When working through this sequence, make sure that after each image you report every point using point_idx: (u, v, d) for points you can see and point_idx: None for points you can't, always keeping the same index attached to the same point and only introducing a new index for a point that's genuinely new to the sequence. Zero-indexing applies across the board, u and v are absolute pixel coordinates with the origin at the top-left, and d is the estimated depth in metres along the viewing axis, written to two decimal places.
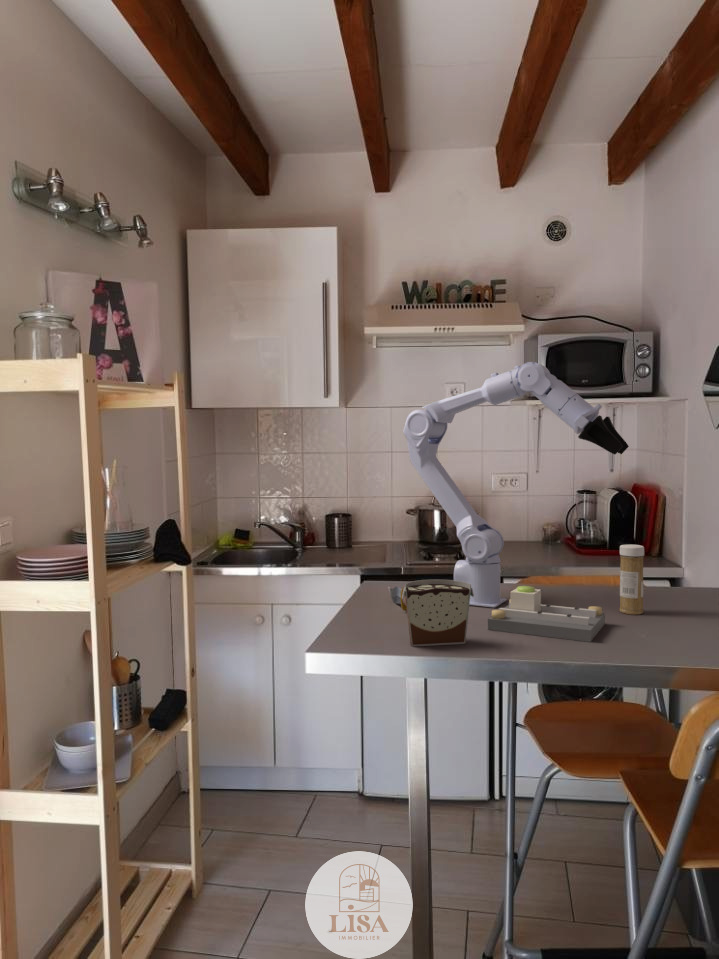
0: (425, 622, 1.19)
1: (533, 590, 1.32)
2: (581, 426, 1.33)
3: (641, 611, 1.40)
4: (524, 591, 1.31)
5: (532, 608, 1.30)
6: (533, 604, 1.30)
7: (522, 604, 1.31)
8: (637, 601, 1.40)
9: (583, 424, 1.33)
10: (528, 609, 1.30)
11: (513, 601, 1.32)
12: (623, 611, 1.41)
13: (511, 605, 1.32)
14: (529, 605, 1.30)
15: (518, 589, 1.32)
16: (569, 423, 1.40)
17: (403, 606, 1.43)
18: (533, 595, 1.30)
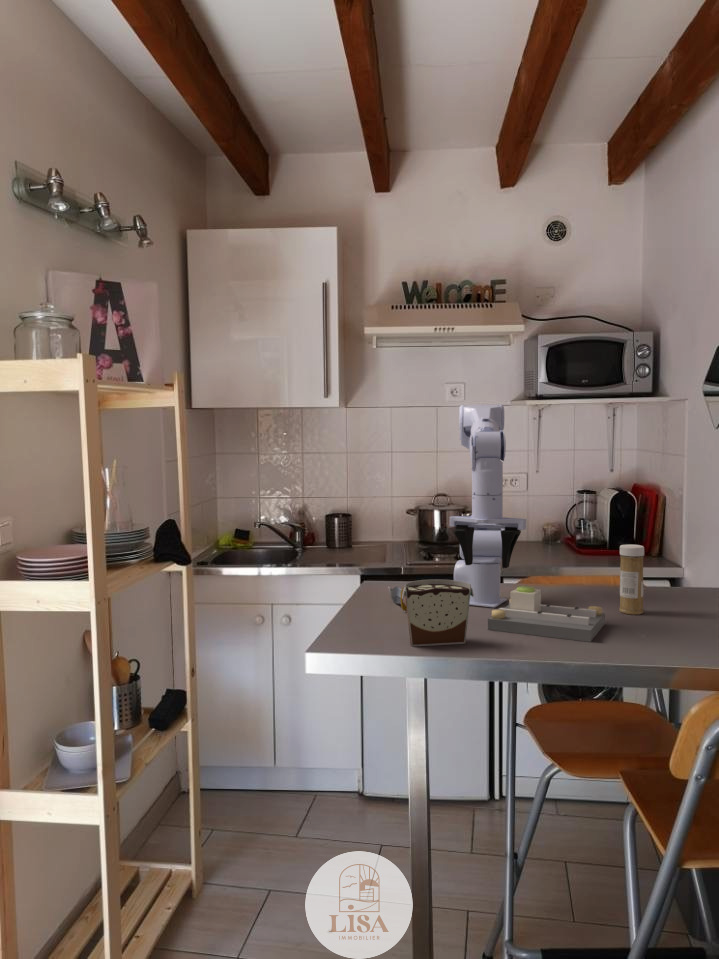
0: (425, 622, 1.19)
1: (533, 590, 1.32)
2: None
3: (641, 611, 1.40)
4: (524, 591, 1.31)
5: (532, 608, 1.30)
6: (533, 604, 1.30)
7: (522, 604, 1.31)
8: (637, 601, 1.40)
9: None
10: (528, 609, 1.30)
11: (513, 601, 1.32)
12: (623, 611, 1.41)
13: (511, 605, 1.32)
14: (529, 605, 1.30)
15: (518, 589, 1.32)
16: None
17: (403, 606, 1.43)
18: (533, 595, 1.30)
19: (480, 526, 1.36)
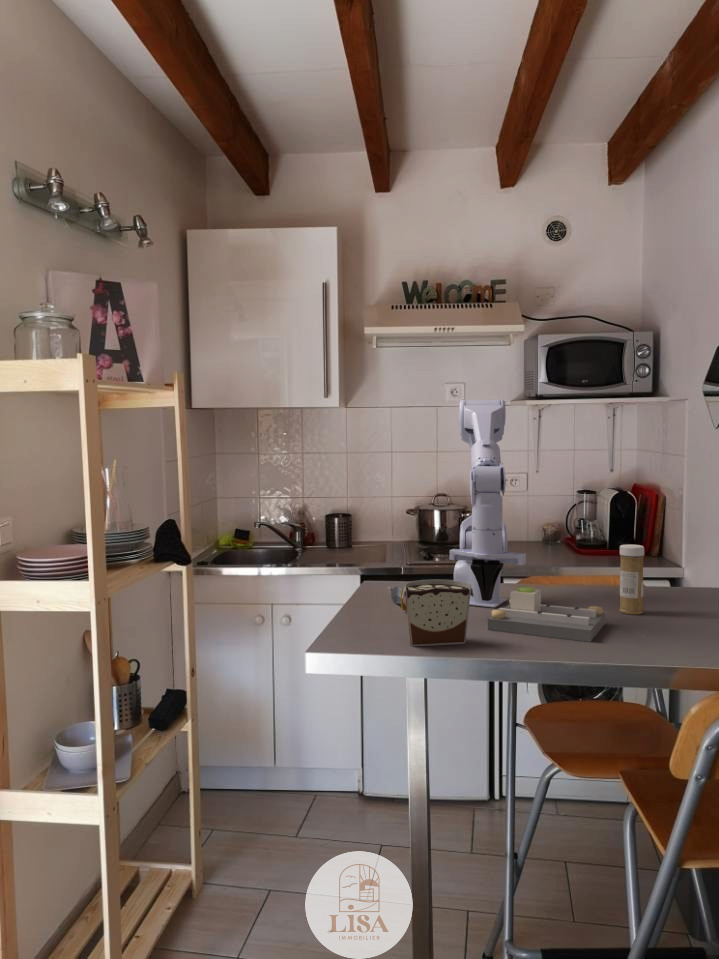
0: (425, 622, 1.19)
1: (533, 590, 1.32)
2: None
3: (641, 611, 1.40)
4: (524, 591, 1.31)
5: (532, 608, 1.30)
6: (533, 604, 1.30)
7: (522, 604, 1.31)
8: (637, 601, 1.40)
9: None
10: (528, 609, 1.30)
11: (513, 601, 1.32)
12: (623, 611, 1.41)
13: (511, 605, 1.32)
14: (529, 605, 1.30)
15: (518, 589, 1.32)
16: None
17: (403, 606, 1.43)
18: (533, 595, 1.30)
19: None
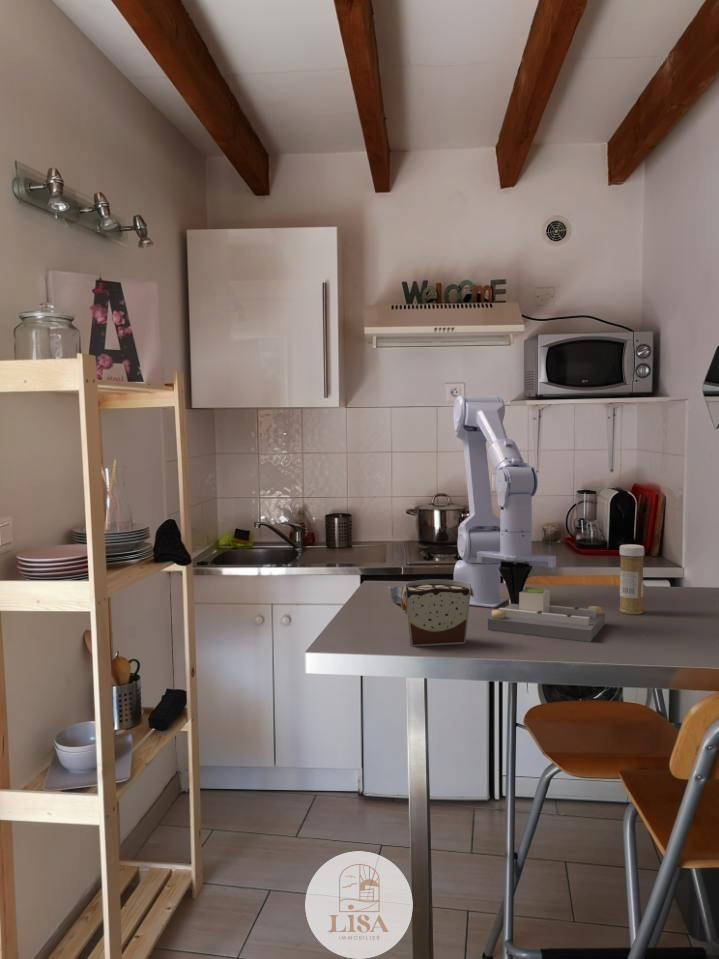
0: (425, 622, 1.19)
1: (542, 591, 1.31)
2: None
3: (641, 611, 1.40)
4: (533, 592, 1.31)
5: (541, 609, 1.29)
6: (542, 605, 1.29)
7: (531, 605, 1.30)
8: (637, 601, 1.40)
9: None
10: (537, 610, 1.30)
11: (522, 602, 1.31)
12: (623, 611, 1.41)
13: (520, 606, 1.31)
14: (538, 606, 1.29)
15: (527, 590, 1.32)
16: None
17: (403, 606, 1.43)
18: (542, 596, 1.29)
19: None
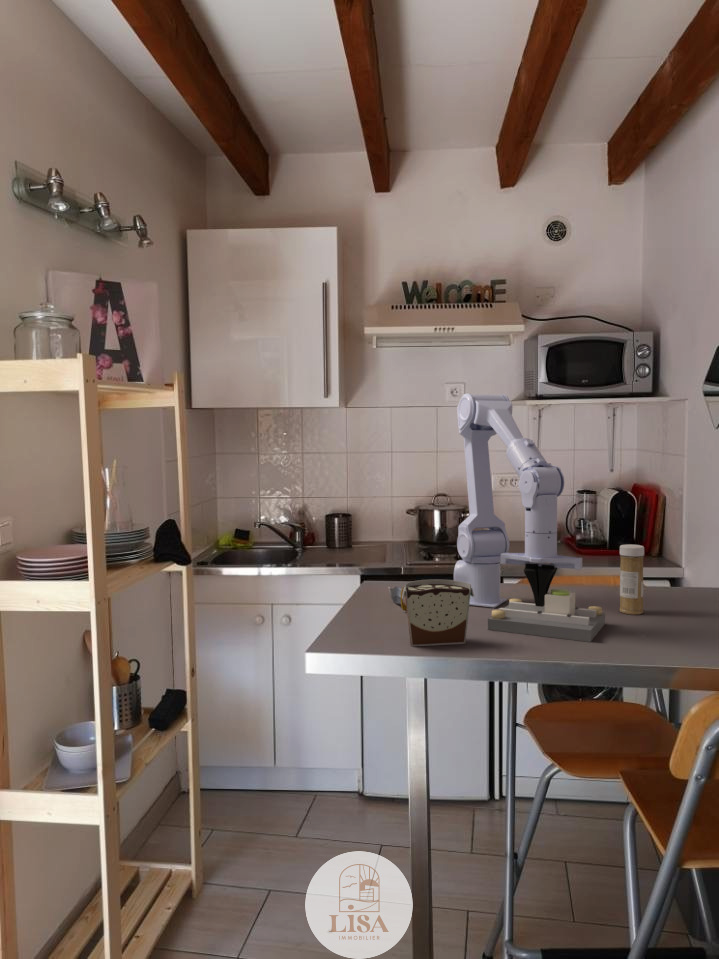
0: (425, 622, 1.19)
1: (568, 593, 1.29)
2: None
3: (641, 611, 1.40)
4: (559, 594, 1.28)
5: (567, 612, 1.27)
6: (568, 608, 1.27)
7: (557, 607, 1.28)
8: (637, 601, 1.40)
9: None
10: (563, 613, 1.27)
11: (547, 604, 1.29)
12: (623, 611, 1.41)
13: (545, 608, 1.29)
14: (564, 609, 1.27)
15: (552, 592, 1.29)
16: None
17: (403, 606, 1.43)
18: (568, 598, 1.27)
19: None
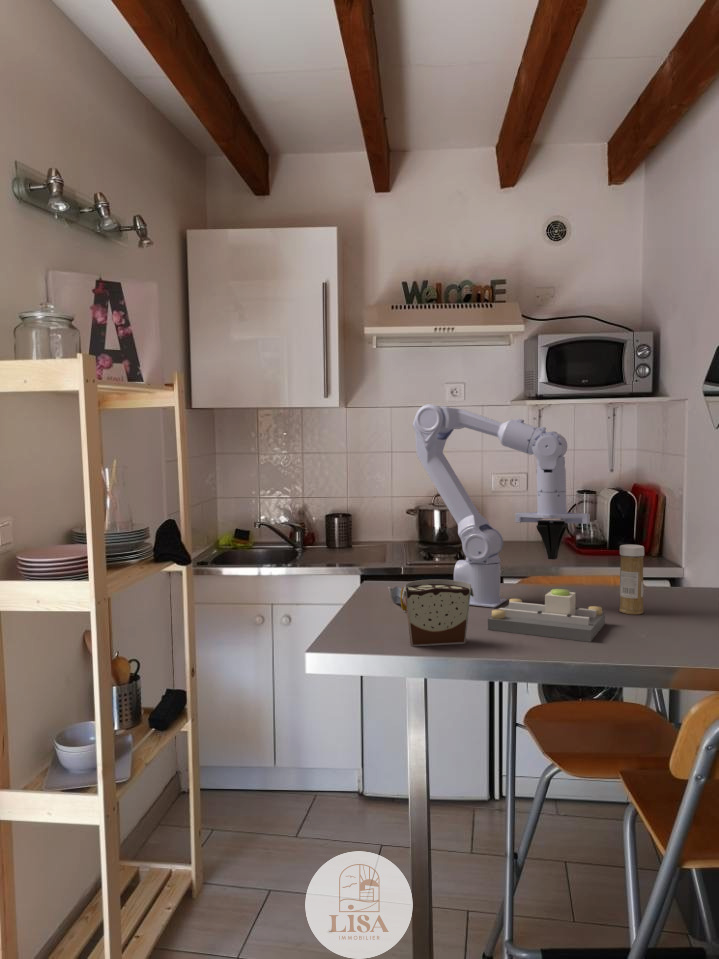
0: (425, 622, 1.19)
1: (568, 593, 1.29)
2: None
3: (641, 611, 1.40)
4: (559, 594, 1.28)
5: (568, 612, 1.27)
6: (569, 608, 1.27)
7: (558, 607, 1.28)
8: (637, 601, 1.40)
9: None
10: (563, 613, 1.27)
11: (548, 604, 1.29)
12: (623, 611, 1.41)
13: (546, 609, 1.29)
14: (564, 609, 1.27)
15: (553, 592, 1.29)
16: None
17: (403, 606, 1.43)
18: (569, 598, 1.27)
19: None
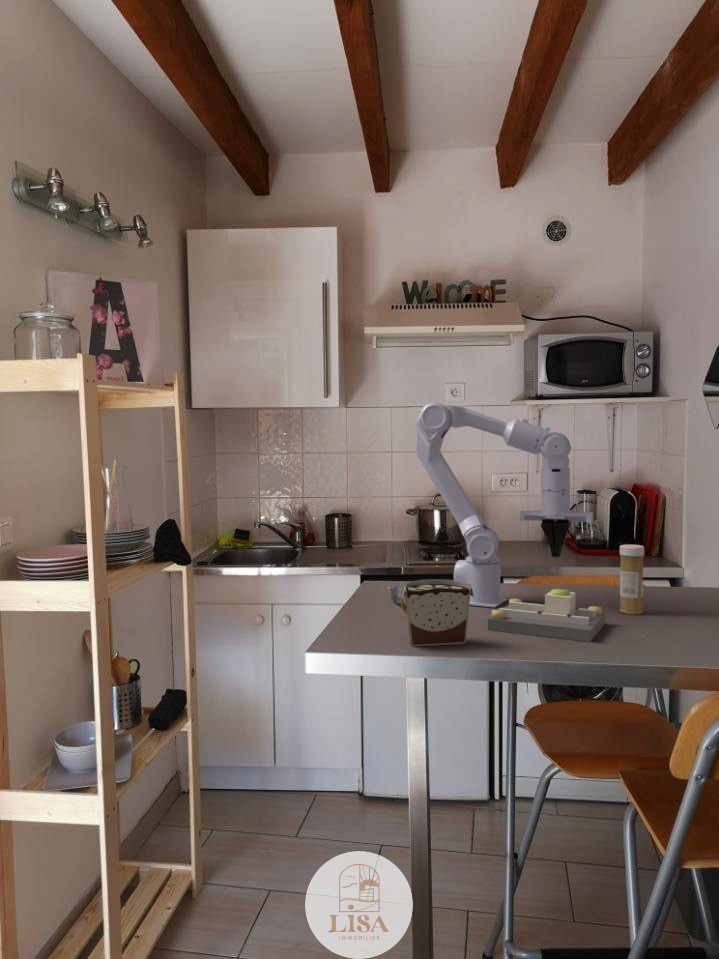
0: (425, 622, 1.19)
1: (568, 593, 1.29)
2: None
3: (641, 611, 1.40)
4: (559, 594, 1.28)
5: (568, 612, 1.27)
6: (569, 608, 1.27)
7: (558, 607, 1.28)
8: (637, 601, 1.40)
9: None
10: (563, 613, 1.27)
11: (548, 604, 1.29)
12: (623, 611, 1.41)
13: (546, 609, 1.29)
14: (564, 609, 1.27)
15: (553, 592, 1.29)
16: None
17: (403, 606, 1.43)
18: (569, 598, 1.27)
19: None
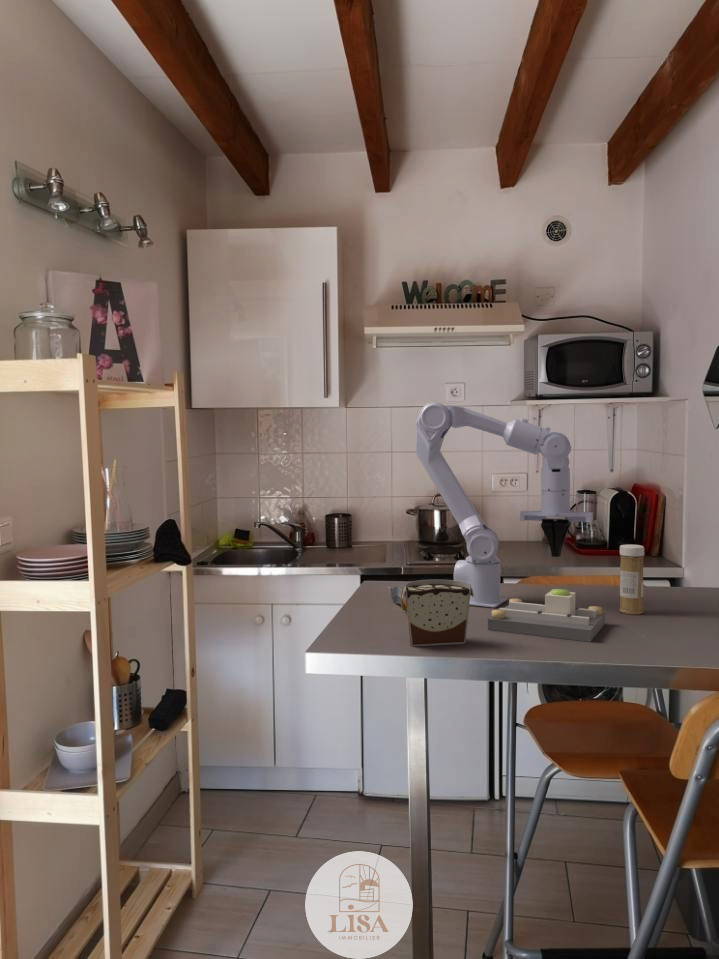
0: (425, 622, 1.19)
1: (568, 593, 1.29)
2: None
3: (641, 611, 1.40)
4: (559, 594, 1.28)
5: (568, 612, 1.27)
6: (569, 608, 1.27)
7: (558, 607, 1.28)
8: (637, 601, 1.40)
9: None
10: (563, 613, 1.27)
11: (548, 604, 1.29)
12: (623, 611, 1.41)
13: (546, 609, 1.29)
14: (564, 609, 1.27)
15: (553, 592, 1.29)
16: None
17: (403, 606, 1.43)
18: (569, 598, 1.27)
19: None
